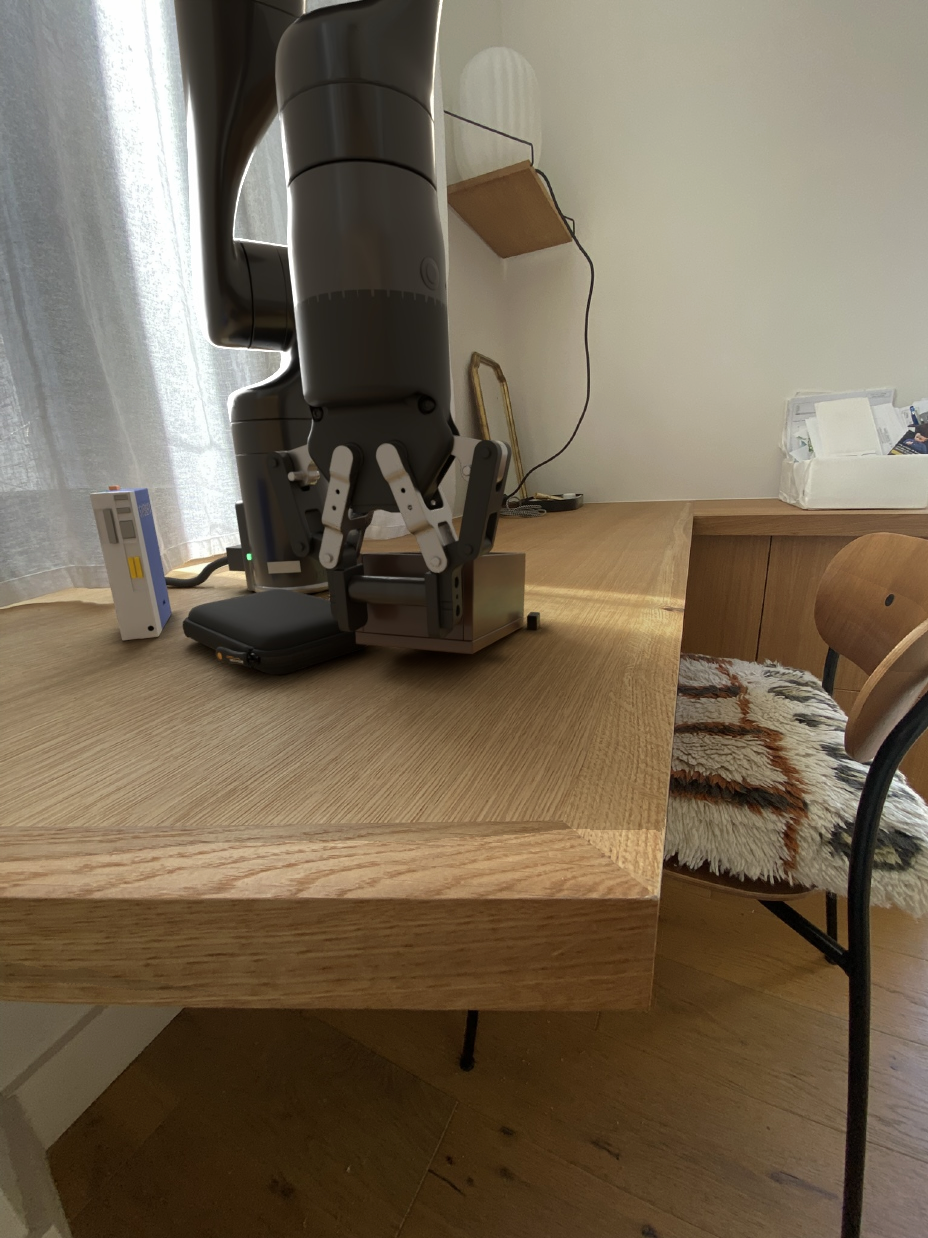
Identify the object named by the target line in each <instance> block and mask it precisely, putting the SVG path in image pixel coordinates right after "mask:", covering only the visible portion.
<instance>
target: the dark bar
mask: <svg viewBox="0 0 928 1238" xmlns="http://www.w3.org/2000/svg"><path fill="white" fill-rule="evenodd" d="M540 627H541V613H540V612H537V611H530V612H529V613H528V614H527V615H526V630H527V631H538V630H539V628H540Z"/></svg>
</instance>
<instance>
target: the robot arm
mask: <svg viewBox="0 0 928 1238" xmlns="http://www.w3.org/2000/svg"><path fill="white" fill-rule="evenodd" d="M443 4H444V0H354V1H348V2H343V3H336V4H335V3H334V4H330V5H325V6H321V7H318V8H315V9H313V10H311V11H308V0H173V5H174V7H173V8H174V16H175V24H176V25H175V26H176V35H177V43H178V52H179V62H180V70H181V71H180V72H181V80H182V81H181V82H182V91H183V101H184V110H185V123H186V135H187V136H186V137H187V155H188V157H187V158H188V186H189V188H188V189H189V217H190V247H191V248H190V250H191V251H190V255H191V256H190V257H191V274H192V277H191V278H192V292H193V301H194V306H195V312H196V318H197V321H198V325H199V329H200V330H201V332H202V335H203V337H204V338H205V339H206V341H207V342H209V344H211V345H212V346H214V347H216V348H220V349H231V350H241V351H255V352H256V351H257V352H276V353H277V352H278V353H280V359H281V360H280V367H279V368H278V370H277V371H276V372H275V373H273V375H271V376H269V377H268V378H266V379H264V380H262V381H260V382H258V383H254V384H251V385H248V386H245V387H242V388H240V389H237V390H235V391H233V392H232V393H231V394H229V396H228V399H227V409H228V416H229V422H230V429H231V436H232V444H233V449H234V455H235V463H236V470H237V476H238V481H239V489H240V495H241V496H240V497H241V499H240V500H237V501H236V502H235V504H234V509H235V517H236V522H237V529H238V530H237V531H238V535H239V536H238V537H239V543H240V544H235V545H231V546H227V547H225V553H226V555H225V556H223V557H220V558H217V559H215V560H213V561H210V563H208V564H207V565H205V566H204V567H203V568H202V570H201V571H200V573H199V574H198V575H197V576H195V577H191V578H177V577H170V576H165V581H166V586H168V587H175V588H194V587H197V586H199V585H202V584H203V583H205V582H206V581H207V580H208V579H209V577H211V575H212V574H213V573H214V572H215V571H216V570H218V569H221V568H223V567H225V566H228V570H229V572H244V575H245V581H246V587H247V588H246V589H247V591H253V592H254V593H259V592H263V591H268V590H273V589H284V590H290V591H294V592H299V593H303V594H307V595H309V594H315V593H320V592H324V591H327V590H328V595H329V597H328V598H329V600H330V608H331V614H332V616H333V618H334V620H335V621H338V625H339V629H340V630H341V631H348V632H354V631H356V630H358V629H359V628H361V627H363V626H365V625H366V623H367V621H368V611H367V603H354V602H352V601H351V600H350V598H349V596H348V583H349V580H350V578H351V577H352V576H354V575H364V565H363V564H357V559H358V557H359V555H360V553H361V551H362V548H363V547H362V546H363V542H364V538H365V534H366V531H367V529H368V528H369V526H370V525H371V523H372V521H373V518H374V514H375V512H377V511H384V512H387V513H391V514H398V513H399V514H400V515H401V517H402V520H403V522H404V524H405V528H406V529H407V530H408V532H409V533H410V534H412V535H413V536H414V538H415V540H416V542H417V546H418V548H419V551H421V552H422V555H423V557H424V560H425V562H426V565H427V567H428V568H429V569H430V571H429V572H427V573H425V574H424V579H425V596H426V613H427V630H428V636H429V637H430V638H438V639H443V638H444V637H446V636H447V635H448V634H449V633H451V632H452V630H453V627H454V626H455V625H456V624H458V623H459V622H460V620H461V617H462V614H463V613H462V588H461V568H462V566H463V564H464V563H466V562H469V561H473V560H475V559H477V558H479V557H481V556H483V555H484V554H486V553H488V552H492V550H493V549H494V546H495V541H496V537H497V530H498V525H499V520H500V515H501V510H502V506H503V500H504V495H505V490H506V486H507V485H506V484H507V479H508V475H509V469H510V465H511V459H512V454H513V453H512V451H513V450H512V446H510V444H509V442H507V441H505V440H497V439H476V438H472V437H466V436H462V435H461V433H460V431H459V428H458V426H456V425H457V424H456V423H455V421H454V418H453V416H452V412H451V403H452V386H451V382H452V381H451V363H450V362H451V361H450V337H449V335H450V334H449V314H448V288H447V267H446V266H447V265H446V249H445V241H444V235H443V234H444V233H443V227H442V222H441V215H440V209H439V198H438V182H437V181H438V180H437V178H438V177H437V157H436V155H437V153H436V134H435V105H434V104H435V103H434V102H435V101H434V100H435V97H434V96H435V74H436V63H437V52H438V43H439V35H440V27H441V21H442V20H441V18H442V12H443ZM277 115H278V120H279V121H278V122H279V130H280V139H281V140H280V141H281V149H282V158H283V168H284V176H285V177H284V178H285V185H286V186H285V187H286V197H287V245H284V244H277V243H271V242H265V241H258V240H253V239H252V240H251V239H245V238H239V237H238V238H236V237H235V224H236V223H235V222H236V215H237V209H238V204H239V199H240V195H241V190H242V186H243V185H244V180H245V177H246V175H247V172H248V170H249V167H250V165H251V163H252V160H253V159H254V156H255V154H256V153H257V150H258V148H259V147H260V145H261V143H262V141H263V139H264V137H265V136H266V134H267V132H268V131H269V129H270V127H271V126H272V125H273V122H274V121H275V119H276V117H277ZM456 459H457V460H458V462H459V465H460V475H461V477H462V479H463V481H465V482H466V483H467V487H466V493H465V494H466V495H465V499H464V506H463V511H462V518H461V521H460V529H459V534H458V535H457V532H456V529H455V527H454V524H453V512H452V510H451V507H450V505H449V503H448V500H447V496H446V495H445V491H444V489H443V487H442V485H441V483H442V481H443V480H444V478H445V477H446V476H447V473H448V472H449V470H450V468H451V466H452V464H453V462H454V461H455V460H456Z"/></svg>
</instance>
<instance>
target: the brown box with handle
mask: <svg viewBox="0 0 928 1238" xmlns="http://www.w3.org/2000/svg"><path fill="white" fill-rule="evenodd" d="M526 554H527V553H526V552H506V551H505V552H504V551H503V552H501V551H498V552H497V551H490V552H488V553H486V554H484V555H483V556H481V557H479V558H477V559H475V560H473V561H469V562H466V563H464V564H463V566H462V568H461V588H462V613H463V614H462V617H461V620H460V622H459V623H458V624H456V625H455V626H454V627H453V630H452V632H451V633H449V634H448V635H447V636H446V637H444V638H443V639H438V638H430V637H429V636H428V630H427V613H426V596H425V579H424V574H425V573H427V572H429V571H430V569H429V568H428V567H427V565H426V562H425V560H424V557H423V555H422V552H421V550H417V551H416V550H415V551H413V550H411V551H384V552H383V551H382V552H381V551H379V552H360V555H359V557H358V559H357V564H363V565H364V575H354V576H352V577H351V578H350V580H349V583H348V596H349V598H350V600H351V601H352V602H354V603H367V611H368V621H367V623H366V625H365V626H363V627H361V628H359V629H358V630H356V644H363V645H367V646H376V647H386V648H399V649H409V650H419V651H420V650H421V651H431V652H443V653H454V654H464V655H466V654H467V655H473V654H475V653H476V652H479V651H480V650H481V651H482V650H483V649H484V648H486V647H488V646H490V645H492V644H493V643H496V642H497V641H500V640H501V639H503V638H504V637H506V636H509V635H510V634H512V633H514V632H516V631H517V630H519V629H521V628H523V627H524V622H525V621H524V620H525V618H524V615H525V591H526V590H525V588H526V585H525V583H526V558H527V557H526Z"/></svg>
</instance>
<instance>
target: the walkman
mask: <svg viewBox="0 0 928 1238" xmlns="http://www.w3.org/2000/svg"><path fill="white" fill-rule="evenodd" d="M89 498H90V502H91V507H92V512H93V515H94V516H93V517H94V520H95V525H96V530H97V534H98V539H99V542H100V547H101V553H102V556H103V561H104V565H105V570H106V576H107V578H108V579H107V580H108V583H109V588H110V592H111V596H112V602H113V605H114V610H115V614H116V619H117V623H118V628H119V632H120V637H121V640H122V641H128V640H129V641H130V640H137V639H140V640H141V639H151V638H159V636H160V635H161V633H162V632H163V629H164V627H165V626H166V624H167V622H168V620H169V618H170V617H171V615H172V613H173V612H172V608H171V602H170V598H169V592H168V587H167V586H166V581H165V577H166V576H165V571H164V567H163V561H162V557H161V551H160V546H159V540H158V535H157V531H156V524H155V519H154V514H153V510H152V504H151V499H150V494H149V489H148V487H143V488H141V487H140V488H123V489H122V488H121V486H120V485H109V486H108V490H104V491H98V492H91V493H89Z"/></svg>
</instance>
